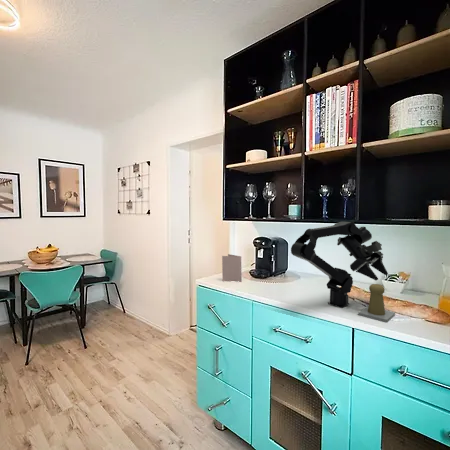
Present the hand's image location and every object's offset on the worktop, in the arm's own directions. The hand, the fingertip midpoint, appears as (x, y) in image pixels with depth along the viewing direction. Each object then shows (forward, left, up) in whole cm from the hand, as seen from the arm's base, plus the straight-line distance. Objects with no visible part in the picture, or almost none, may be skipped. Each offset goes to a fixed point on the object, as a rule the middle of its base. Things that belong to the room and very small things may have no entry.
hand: (382, 277), depth 108 cm
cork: (0, -6, -13) cm, 14 cm away
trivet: (0, -6, -14) cm, 15 cm away
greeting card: (-76, -11, -14) cm, 79 cm away
